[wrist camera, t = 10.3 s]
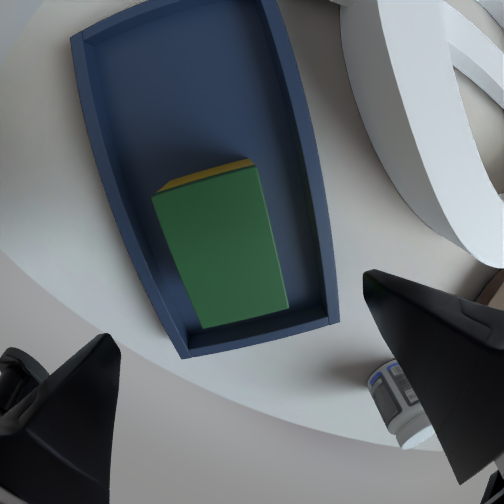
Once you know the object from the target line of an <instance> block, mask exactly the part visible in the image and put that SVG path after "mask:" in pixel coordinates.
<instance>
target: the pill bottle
mask: <svg viewBox="0 0 504 504" xmlns="http://www.w3.org/2000/svg"><path fill="white" fill-rule="evenodd" d="M367 386H368V389H369V392H370V394H371V396H372V398H373V400H374V402H375V404H376V406H377V408H378V410H379V412H380V414H381V417H382V418H383V421H384V423H385V425H386V427H387V429H388V431H389V432H390V433H391V434H393V435H396V439H397V441H398V443H399V445H400V447H401V449H409V448H412V447H414V446H416V445H418V444H420V443H421V442H423V441H425V440H426V439H427V438H429V437H430V436H431V435H432V434H433V433H435V431H434V429H433V427H432V425H431V423H430V421H429V419H428V417H427V415H426V413H425V411H424V409H423V407H422V405H421V404H420V402H419V400H418V398H417V396H416V394H415V392H414V391H413V389H412V387H411V385H410V383H409V382H408V380H407V378H406V376H405V374H404V373H403V371H402V369H401V367H400V366H399V364H398V362H397V361H396V360H393V361H390V362H388V363H386V364H384V365H383V366H381V367H380V368H378V369H377V370H376V371H375V372H374V373H373V374H372V375H371V376H370V378H369V380H368V383H367Z"/></svg>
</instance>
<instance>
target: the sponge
mask: <svg viewBox="0 0 504 504" xmlns="http://www.w3.org/2000/svg"><path fill="white" fill-rule="evenodd" d="M151 199H152V202H153V205H154V208H155V211H156V214H157V217H158V219H159V222H160V225H161V228H162V230H163V233H164V236H165V239H166V241H167V244H168V247H169V249H170V252H171V254H172V257H173V260H174V262H175V265H176V267H177V270H178V272H179V275H180V277H181V280H182V282H183V285H184V287H185V289H186V292H187V294H188V296H189V299H190V301H191V303H192V306H193V308H194V310H195V313H196V315H197V317H198V319H199V322H200V324H201V326H202V328H203V329H204V328H209V327H214V326H218V325H223V324H227V323H232V322H236V321H240V320H245V319H249V318H253V317H257V316H261V315H265V314H269V313H273V312H277V311H281V310H285V309H288V308H289V303H288V298H287V294H286V289H285V284H284V280H283V275H282V271H281V266H280V262H279V257H278V253H277V248H276V244H275V240H274V235H273V231H272V226H271V222H270V218H269V214H268V209H267V205H266V201H265V197H264V193H263V189H262V184H261V180H260V176H259V172H258V168H257V166H256V165H255V164H254V163H253V162H252V161H251V160H250V159H244V160H240V161H236V162H232V163H228V164H225V165H221V166H217V167H214V168H210V169H207V170H203V171H200V172H196V173H193V174H190V175H187V176H183V177H180V178H177V179H174V180H171V181H169V182H168V183H167V184H166V185H164V186H163V187H162V188H161V189H160V190H159V191H157V192H156V193H155V194H154V195H153V196H152V197H151Z"/></svg>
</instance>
